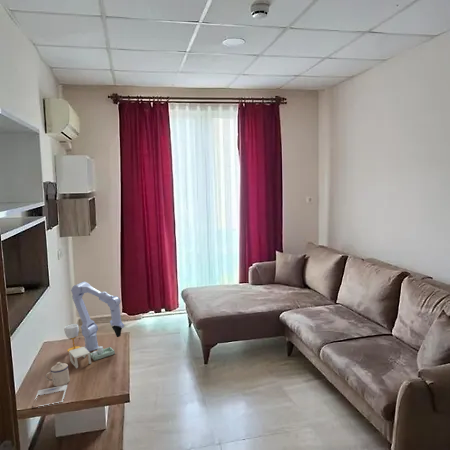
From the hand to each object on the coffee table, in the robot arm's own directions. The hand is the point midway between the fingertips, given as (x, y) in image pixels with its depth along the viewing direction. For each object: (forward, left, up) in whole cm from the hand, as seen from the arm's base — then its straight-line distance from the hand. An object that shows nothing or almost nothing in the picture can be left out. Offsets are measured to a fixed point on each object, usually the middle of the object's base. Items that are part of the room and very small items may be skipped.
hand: (118, 336), depth 266 cm
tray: (0, -12, -9) cm, 15 cm away
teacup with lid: (+18, -42, -9) cm, 47 cm away
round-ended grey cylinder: (0, -13, -8) cm, 15 cm away
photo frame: (+30, -49, -10) cm, 58 cm away
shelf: (0, -25, -9) cm, 27 cm away
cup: (-24, -23, -9) cm, 34 cm away
